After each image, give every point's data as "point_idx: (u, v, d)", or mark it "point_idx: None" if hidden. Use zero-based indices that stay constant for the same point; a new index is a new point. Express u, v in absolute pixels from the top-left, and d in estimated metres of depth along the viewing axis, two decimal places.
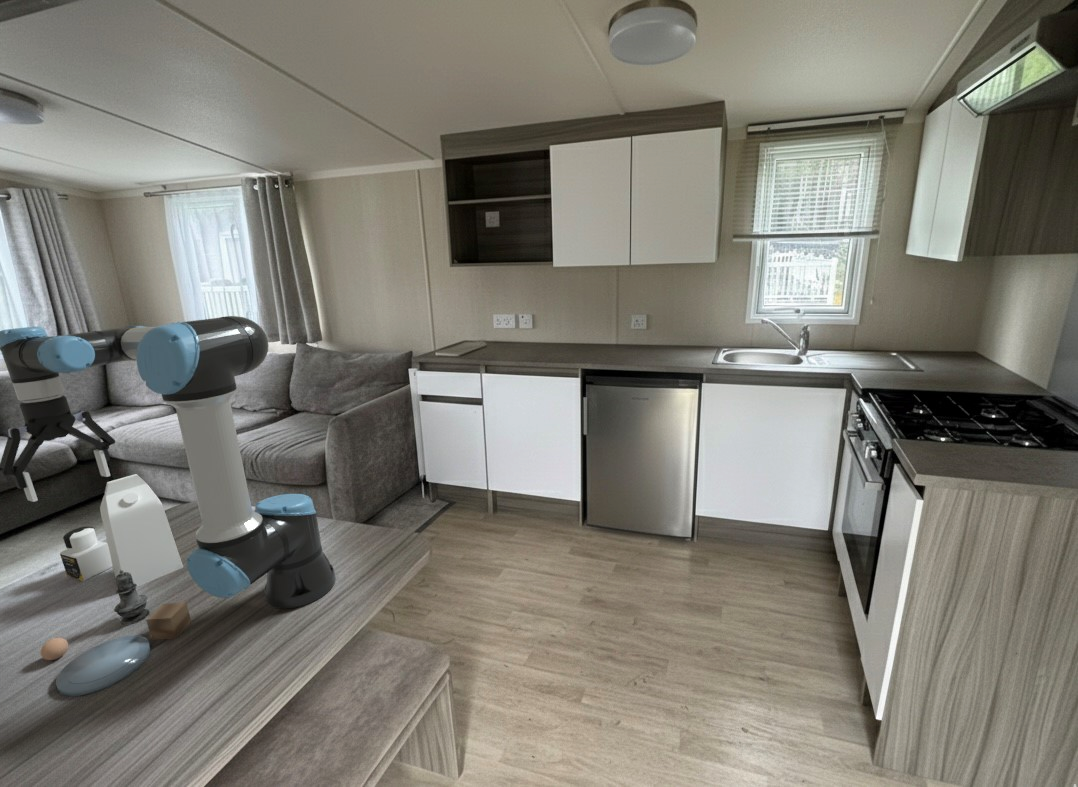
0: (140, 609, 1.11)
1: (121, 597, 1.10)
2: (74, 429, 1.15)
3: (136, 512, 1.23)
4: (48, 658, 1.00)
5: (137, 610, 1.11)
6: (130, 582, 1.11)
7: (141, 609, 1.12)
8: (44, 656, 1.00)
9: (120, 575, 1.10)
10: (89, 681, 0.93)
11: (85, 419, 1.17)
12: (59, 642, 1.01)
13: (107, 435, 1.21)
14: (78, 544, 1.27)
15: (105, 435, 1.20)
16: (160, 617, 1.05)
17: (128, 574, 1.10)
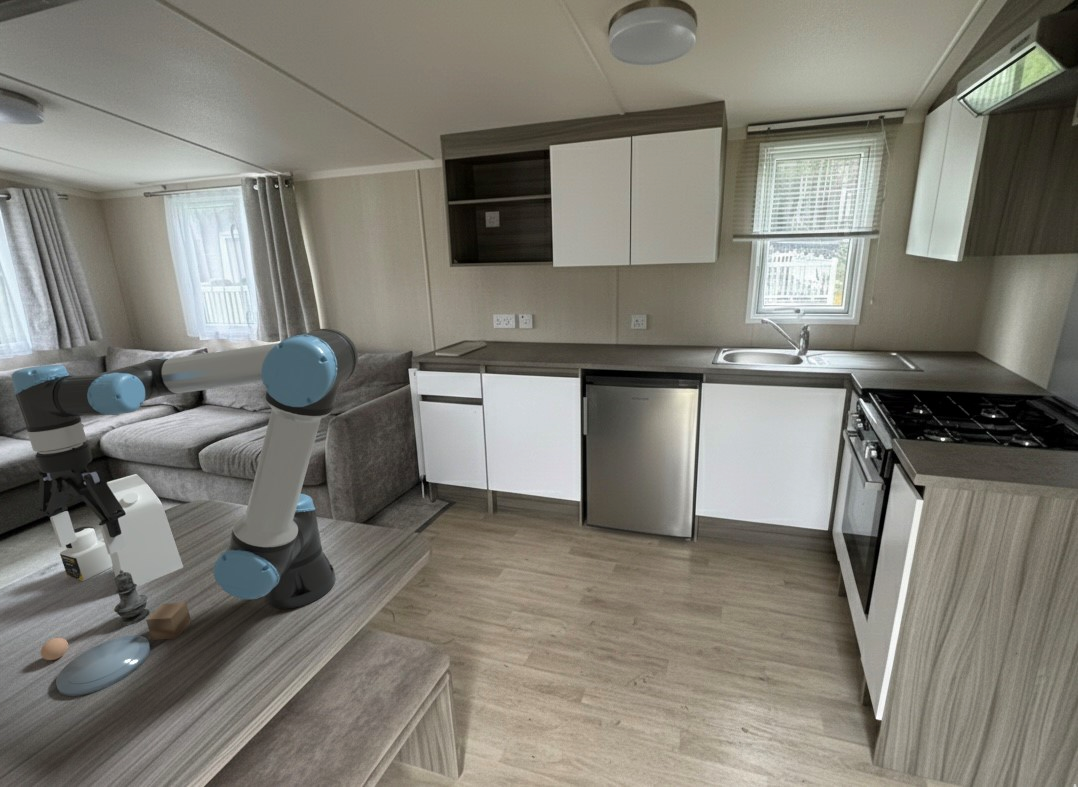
0: (140, 609, 1.11)
1: (121, 597, 1.10)
2: (75, 491, 0.95)
3: (136, 512, 1.23)
4: (48, 658, 1.00)
5: (137, 610, 1.11)
6: (130, 582, 1.11)
7: (141, 609, 1.12)
8: (44, 656, 1.00)
9: (120, 575, 1.10)
10: (89, 681, 0.93)
11: (86, 483, 0.95)
12: (59, 642, 1.01)
13: (105, 509, 0.95)
14: (78, 544, 1.27)
15: (103, 508, 0.95)
16: (160, 617, 1.05)
17: (128, 574, 1.10)
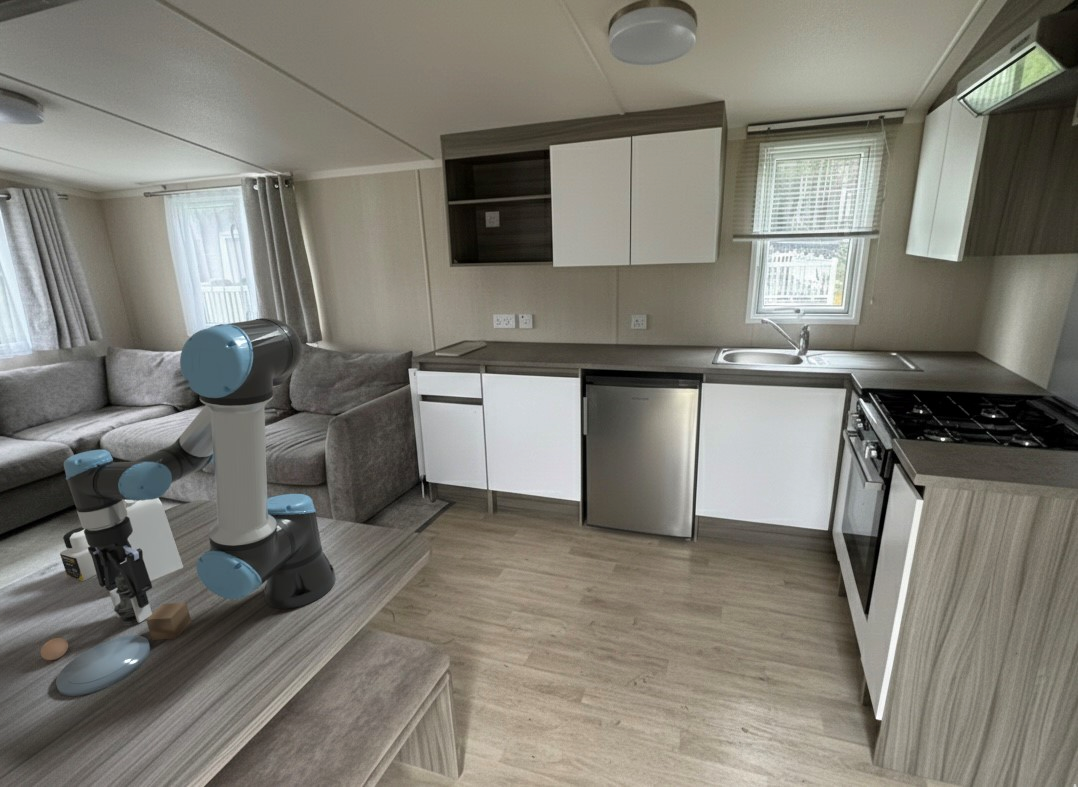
0: None
1: (121, 597, 1.10)
2: (116, 564, 1.07)
3: (136, 512, 1.23)
4: (48, 658, 1.00)
5: None
6: None
7: None
8: (44, 656, 1.00)
9: (120, 575, 1.10)
10: (89, 681, 0.93)
11: (127, 559, 1.06)
12: (59, 642, 1.01)
13: (136, 585, 1.07)
14: (78, 544, 1.27)
15: (135, 583, 1.07)
16: (160, 617, 1.05)
17: None
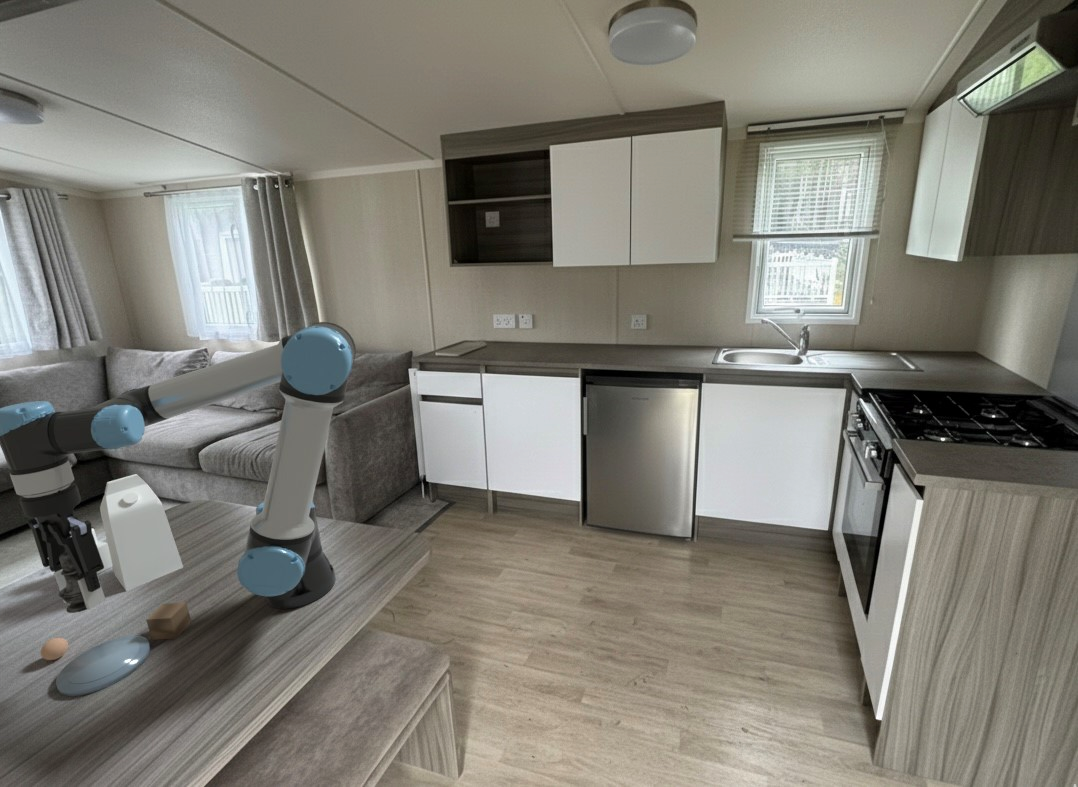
0: None
1: (66, 579, 0.92)
2: (59, 539, 0.89)
3: (136, 512, 1.23)
4: (48, 658, 1.00)
5: None
6: None
7: None
8: (44, 656, 1.00)
9: (65, 553, 0.92)
10: (89, 681, 0.93)
11: (71, 533, 0.89)
12: (59, 642, 1.01)
13: (84, 564, 0.90)
14: None
15: (82, 562, 0.90)
16: (160, 617, 1.05)
17: None
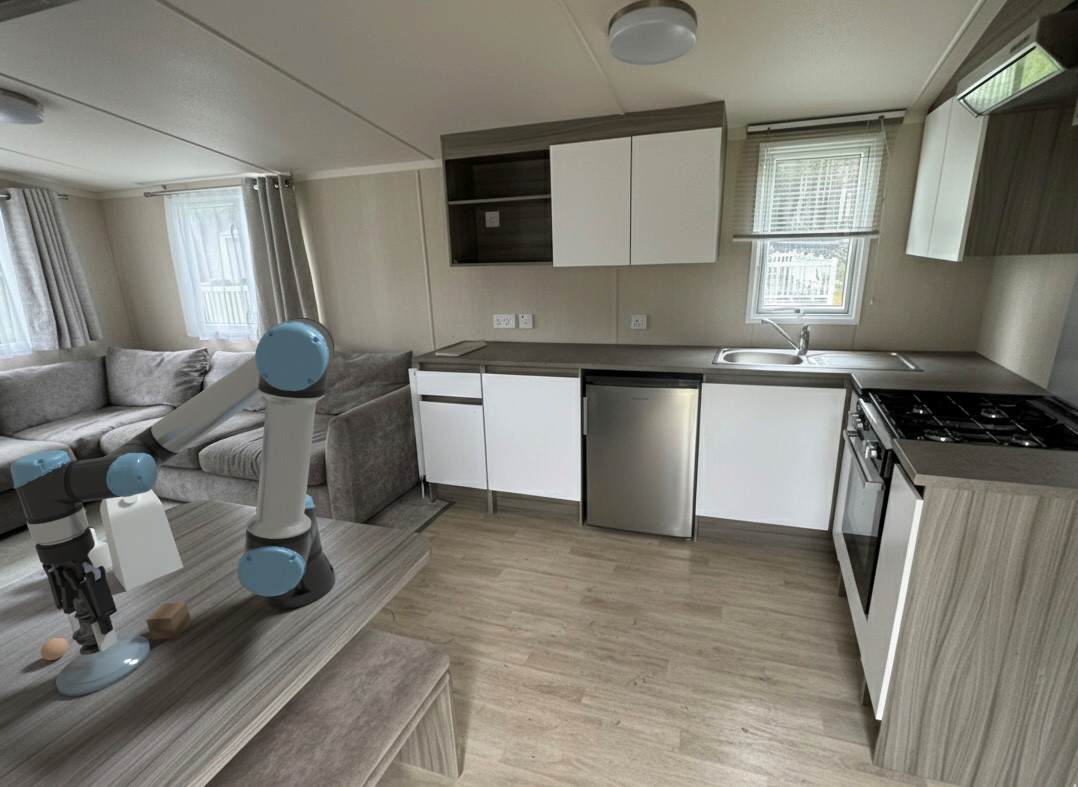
0: None
1: (80, 622, 0.94)
2: (73, 584, 0.91)
3: (136, 512, 1.23)
4: (48, 658, 1.00)
5: None
6: None
7: None
8: (44, 656, 1.00)
9: (79, 596, 0.94)
10: (89, 681, 0.93)
11: (86, 579, 0.91)
12: (59, 642, 1.01)
13: (98, 608, 0.92)
14: None
15: (96, 607, 0.92)
16: (160, 617, 1.05)
17: None
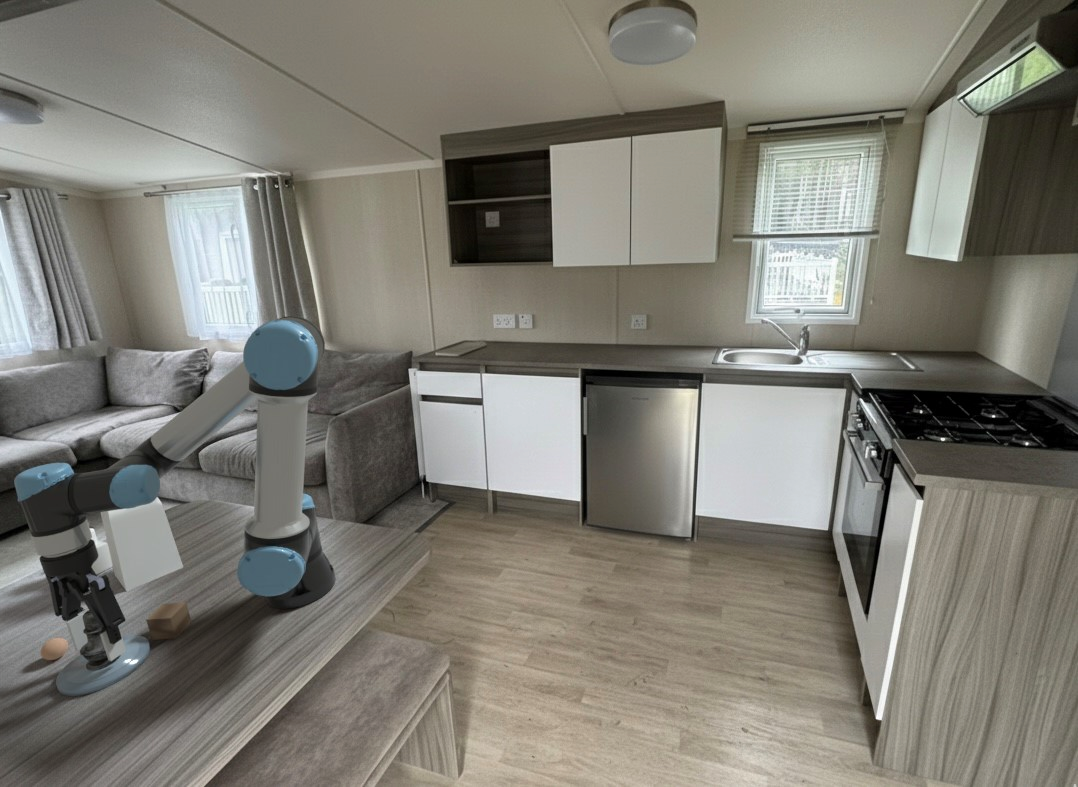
0: None
1: (88, 637, 0.95)
2: (78, 595, 0.92)
3: (136, 512, 1.23)
4: (48, 658, 1.00)
5: None
6: None
7: None
8: (44, 656, 1.00)
9: (89, 612, 0.95)
10: (89, 681, 0.93)
11: (90, 589, 0.91)
12: (59, 642, 1.01)
13: (105, 618, 0.92)
14: None
15: (104, 616, 0.92)
16: (160, 617, 1.05)
17: None
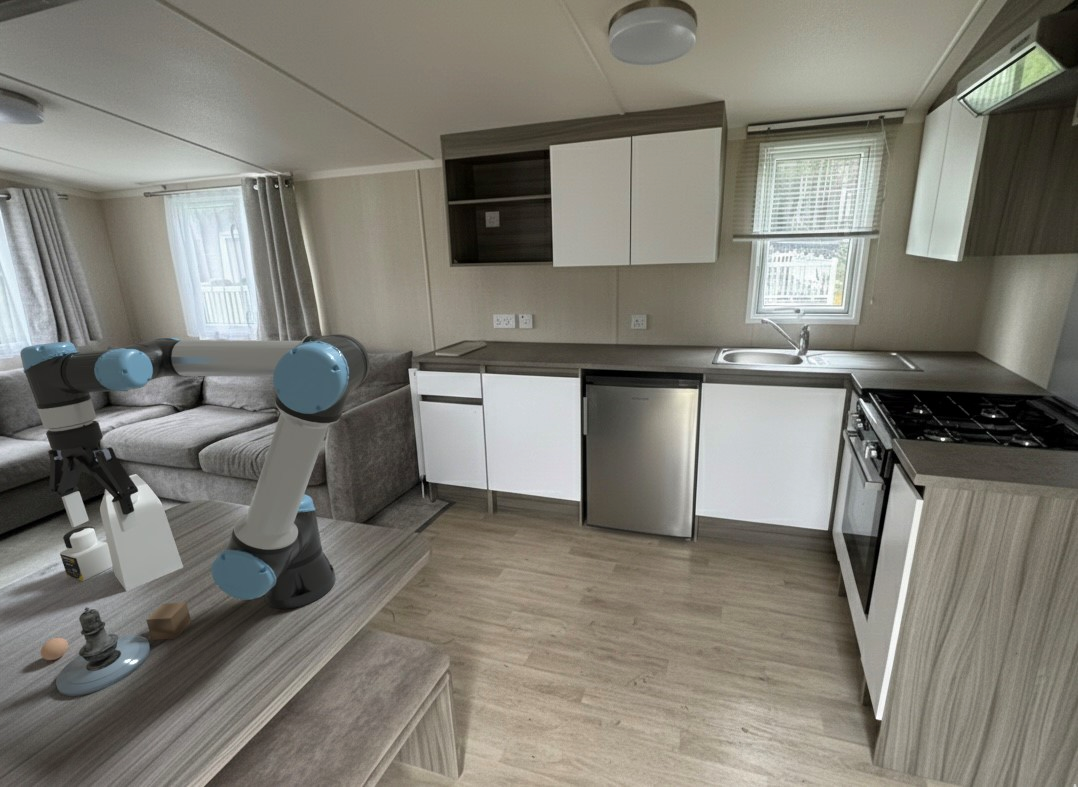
0: (109, 651, 0.97)
1: (86, 638, 0.95)
2: (86, 468, 0.95)
3: (136, 512, 1.23)
4: (48, 658, 1.00)
5: (105, 653, 0.96)
6: (97, 621, 0.96)
7: (110, 651, 0.97)
8: (44, 656, 1.00)
9: (85, 613, 0.95)
10: (89, 681, 0.93)
11: (97, 460, 0.94)
12: (59, 642, 1.01)
13: (117, 485, 0.95)
14: (78, 544, 1.27)
15: (116, 485, 0.95)
16: (160, 617, 1.05)
17: (95, 612, 0.96)
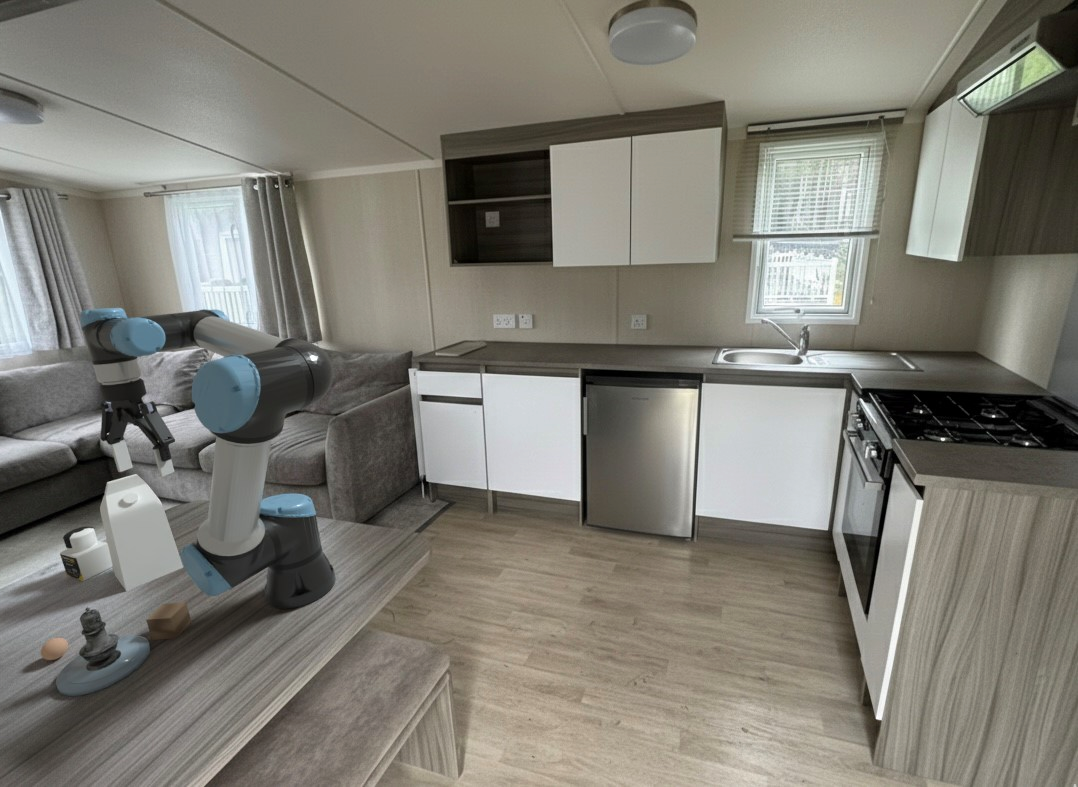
0: (109, 652, 0.97)
1: (87, 638, 0.95)
2: (132, 419, 1.08)
3: (136, 512, 1.23)
4: (48, 658, 1.00)
5: (106, 654, 0.96)
6: (98, 621, 0.96)
7: (110, 652, 0.97)
8: (44, 656, 1.00)
9: (86, 613, 0.95)
10: (89, 681, 0.93)
11: (141, 412, 1.08)
12: (59, 642, 1.01)
13: (157, 435, 1.08)
14: (78, 544, 1.27)
15: (156, 434, 1.08)
16: (160, 617, 1.05)
17: (95, 612, 0.96)
